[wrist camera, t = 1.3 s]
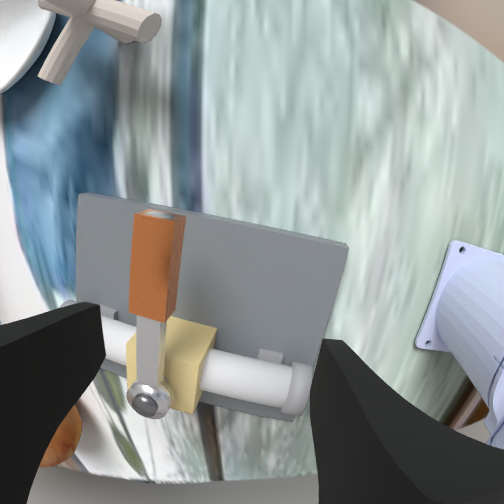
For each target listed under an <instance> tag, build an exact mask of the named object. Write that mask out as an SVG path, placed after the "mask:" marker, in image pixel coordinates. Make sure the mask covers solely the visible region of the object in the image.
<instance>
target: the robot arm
mask: <svg viewBox="0 0 504 504" xmlns="http://www.w3.org/2000/svg"><path fill="white" fill-rule="evenodd" d="M462 246H463V250H462V252H459V249H460V248H461V247H462ZM428 340H429V342H428V343H427V344H425V343H426V341H428ZM415 344H416V346H417V347H418V348H421V349H428V350H436V351H444V352H451V353H452V354H453V356H454V357H455V358H456V360H457V361H458V363H459V364H460V366H461V367H462V368H463V370H464V371H465V373H466V374H467V376H468V377H469V379H470V380H471V382H472V383H473V385H474V386H475V388H476V389H477V391H478V392H479V394H480V395H481V397H482V399H483V400H484V402H485V403H486V405H487V406H488V408H489V413H488V415H487V417H486V419H485V421H484V424H485V426H486V427H487V429H488V431H489V433H490V434H491V437H490V439H489V440H488V441H487V443H486V444H485V443H482V442H480V441H477V440H475V439H472V438H470V437H467V436H465V435H463V434H461V433H459V432H457V431H455V430H453V429H451V428H449V427H447V426H445V425H444V424H442V423H440V422H438V421H436V420H435V419H433V418H431V417H430V416H428V415H427V414H425V413H424V412H422V411H421V410H419V409H418V408H416V407H415V406H414V405H412V404H411V403H409V402H408V401H407V400H405V399H404V398H403V397H402V396H400V395H399V394H398V393H397V392H396V391H394V390H393V389H392V388H391V387H390V386H389V385H387V384H386V383H385V382H384V381H383V380H382V379H381V378H380V377H379V376H378V375H377V374H376V373H374V372H373V371H372V370H371V369H370V368H369V367H368V366H367V365H366V364H365V363H364V362H363V361H362V359H361V358H360V357H359V356H358V355H357V354H356V353H355V352H354V351H353V350H352V349H351V348H350V347H349V346H348V345H347V344H346V343H345V342H344V341H343V340H334V339H323V340H322V344H321V348H320V353H319V357H318V361H317V365H316V369H315V373H314V377H313V380H312V384H311V388H310V419H311V427H312V434H313V441H314V448H315V455H316V463H317V470H318V480H319V504H504V255H502V254H499V253H496V252H493V251H490V250H487V249H484V248H480V247H477V246H474V245H471V244H468V243H464V242H461V241H458V240H453V241H452V242H451V243H450V244H449V247H448V250H447V254H446V257H445V260H444V263H443V267H442V270H441V273H440V276H439V279H438V282H437V285H436V288H435V291H434V293H433V296H432V299H431V302H430V304H429V307H428V310H427V312H426V315H425V317H424V320H423V322H422V325H421V327H420V330H419V332H418V335H417V337H416V339H415ZM105 357H106V350H105V343H104V336H103V328H102V320H101V310H100V305H98V304H94V303H89V302H80V303H76V304H72V305H68V306H65V307H61V308H58V309H55V310H52V311H48V312H45V313H42V314H39V315H36V316H33V317H29V318H26V319H22V320H19V321H15V322H12V323H8V324H4V325H0V504H26V503H27V499H28V496H29V492H30V489H31V486H32V483H33V480H34V478H35V475H36V473H37V470H38V467H39V465H40V463H41V461H42V458H43V456H44V454H45V452H46V450H47V448H48V446H49V444H50V442H51V440H52V438H53V436H54V434H55V432H56V430H57V429H58V427H59V426H60V424H61V423H62V421H63V420H64V418H65V417H66V416H67V414H68V413H69V411H70V410H71V409H72V407H73V406H74V405H75V403H76V402H77V401H78V399H79V398H80V397H81V395H82V394H83V393H84V391H85V390H86V389H87V387H88V386H89V385H90V383H91V382H92V381H93V379H94V378H95V376H96V374H97V372H98V371H99V369H100V367H101V365H102V363H103V361H104V359H105Z"/></svg>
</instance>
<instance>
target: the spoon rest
mask: <svg viewBox="0 0 504 504" xmlns="http://www.w3.org/2000/svg"><path fill="white" fill-rule="evenodd" d="M55 17H56V13H54V12H50V11H47V10H43V9H41V8H40V7H39V6H38V0H0V94H1V93H3V92H5V91H6V90H8V89H9V88H10V87H12V86H13V85H14V84H15V83H16V82H17V81H19V80H20V79H21V78H22V77H23V76H24V75H25V73H26V72H27V71H28V70H29V69H30V68H31V66H32V65H33V64H34V63H35V61H36V60H37V58H38V57H39V56H40V54H41V52H42V51H43V49H44V47H45V45H46V43H47V41H48V39H49V36H50V34H51V31H52V28H53V25H54V22H55Z"/></svg>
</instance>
